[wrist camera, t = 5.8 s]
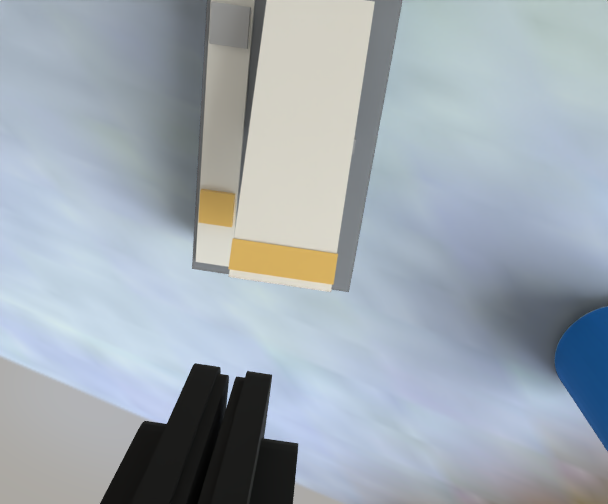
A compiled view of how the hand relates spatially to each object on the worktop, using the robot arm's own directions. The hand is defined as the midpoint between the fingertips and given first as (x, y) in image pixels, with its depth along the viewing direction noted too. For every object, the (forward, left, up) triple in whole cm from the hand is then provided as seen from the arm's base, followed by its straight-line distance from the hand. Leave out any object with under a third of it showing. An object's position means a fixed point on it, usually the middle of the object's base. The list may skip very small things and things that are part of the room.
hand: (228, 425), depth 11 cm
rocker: (0, -4, -12) cm, 12 cm away
